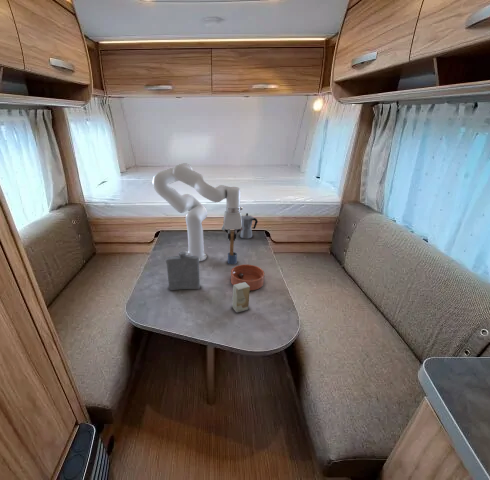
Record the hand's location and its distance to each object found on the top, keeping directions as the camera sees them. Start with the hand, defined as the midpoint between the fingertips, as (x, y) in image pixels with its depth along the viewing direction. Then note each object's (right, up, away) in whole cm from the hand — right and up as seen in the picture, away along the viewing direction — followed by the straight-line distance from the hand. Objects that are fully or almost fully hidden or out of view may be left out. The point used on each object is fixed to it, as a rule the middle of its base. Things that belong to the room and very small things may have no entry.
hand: (231, 239), depth 156 cm
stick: (0, -10, +4) cm, 11 cm away
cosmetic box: (+1, -32, -34) cm, 47 cm away
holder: (+1, -14, +6) cm, 15 cm away
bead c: (+9, -22, -19) cm, 30 cm away
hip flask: (-26, -25, -18) cm, 40 cm away
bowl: (+7, -23, -14) cm, 28 cm away
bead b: (+4, -22, -18) cm, 29 cm away
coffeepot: (+16, +2, +44) cm, 46 cm away
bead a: (+4, -20, -12) cm, 23 cm away
